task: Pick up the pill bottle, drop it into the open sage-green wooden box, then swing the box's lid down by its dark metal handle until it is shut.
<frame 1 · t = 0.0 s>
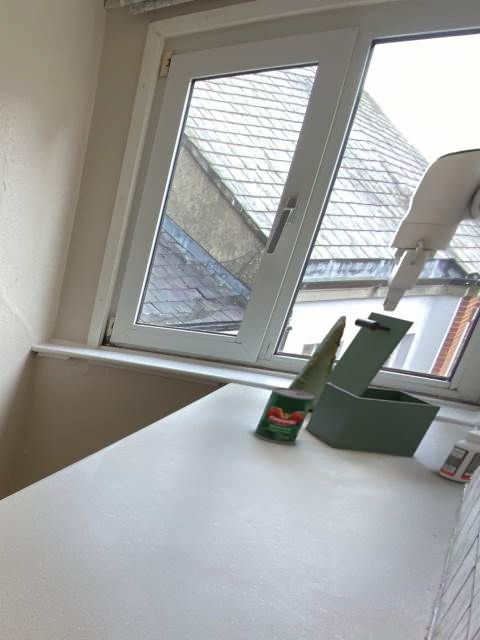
hand: (387, 308, 119), 30 cm above the counter, tool pointing down, fingers open, 8 cm apart
canned tomato: (273, 438, 129), on the counter
lid: (356, 351, 121), point 21 cm above the counter, hinge at 80.0°
pouch: (301, 408, 152), on the counter
pill bottle: (455, 478, 112), on the counter
chest: (355, 442, 129), on the counter
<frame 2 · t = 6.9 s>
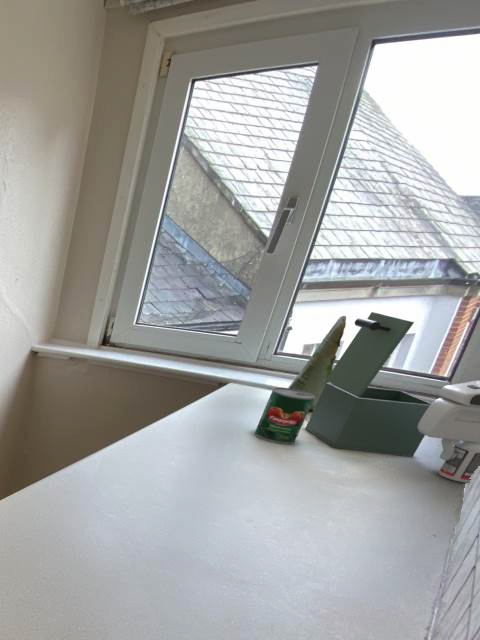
hand: (465, 461, 111), 4 cm above the counter, tool pointing down, fingers closed on pill bottle, 5 cm apart
pill bottle: (455, 478, 112), on the counter, touching gripper
everything else where it was.
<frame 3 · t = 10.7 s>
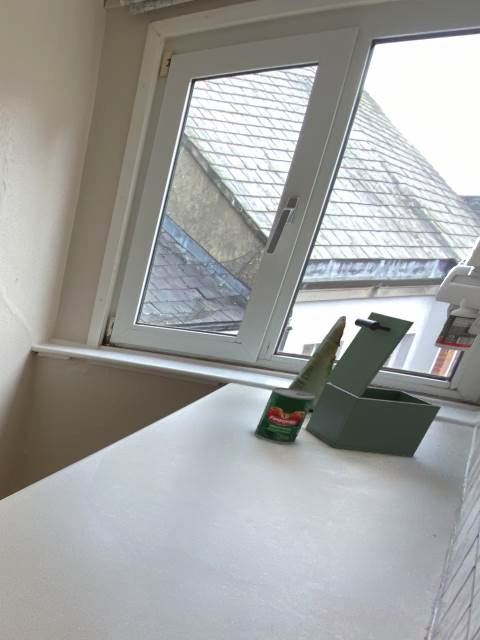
hand: (460, 330, 112), 27 cm above the counter, tool pointing down, fingers closed on pill bottle, 5 cm apart
pill bottle: (450, 349, 114), point 23 cm above the counter, touching gripper
everything else where it was.
when the fingers open (13 cm above the counter, at t = 15.0 s): pill bottle drops 8 cm, resting on chest.
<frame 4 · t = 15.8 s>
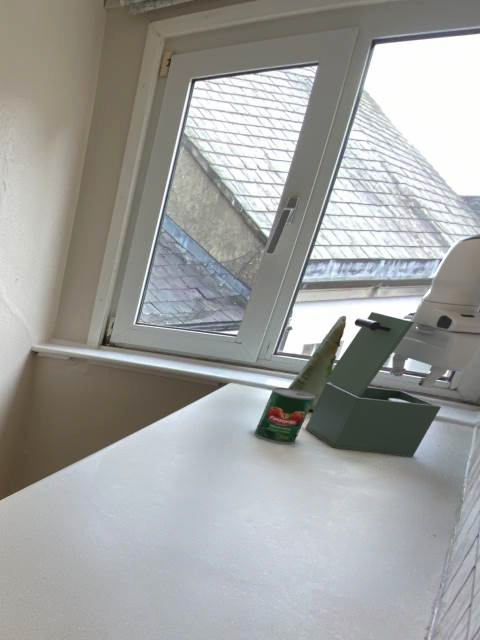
hand: (409, 380, 121), 15 cm above the counter, tool pointing down, fingers open, 8 cm apart
pill bottle: (376, 441, 128), point 1 cm above the counter, touching chest
everything else where it was.
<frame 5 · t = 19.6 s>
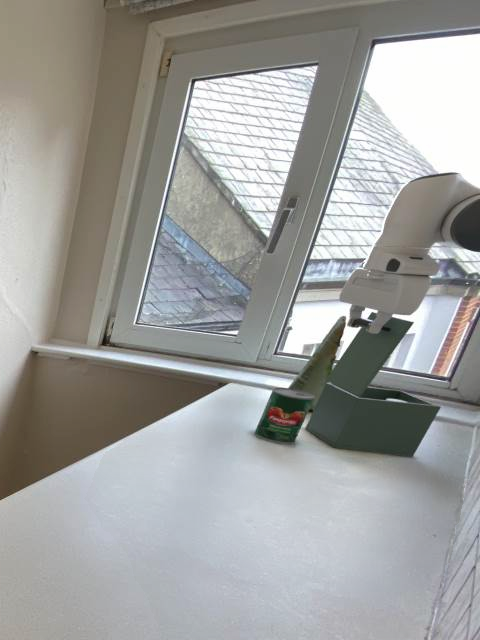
hand: (362, 330, 119), 25 cm above the counter, tool pointing down, fingers closed on lid, 5 cm apart
lid: (356, 351, 121), point 21 cm above the counter, hinge at 80.0°, touching gripper
everything else where it was.
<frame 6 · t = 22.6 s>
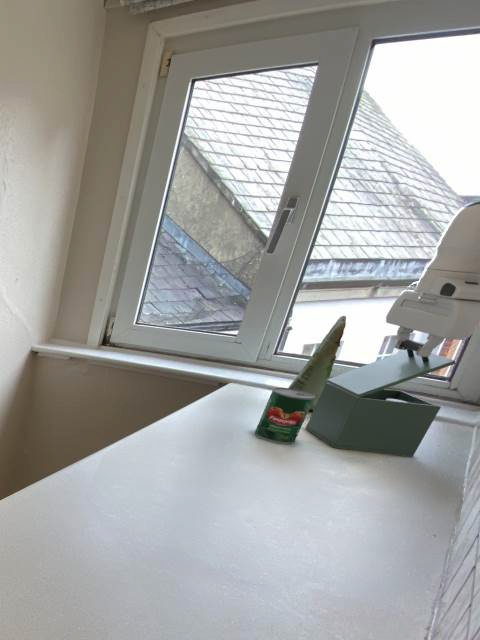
hand: (410, 352, 119), 21 cm above the counter, tool pointing down, fingers closed on lid, 5 cm apart
lid: (384, 364, 121), point 18 cm above the counter, hinge at 33.2°, touching gripper
everything else where it was.
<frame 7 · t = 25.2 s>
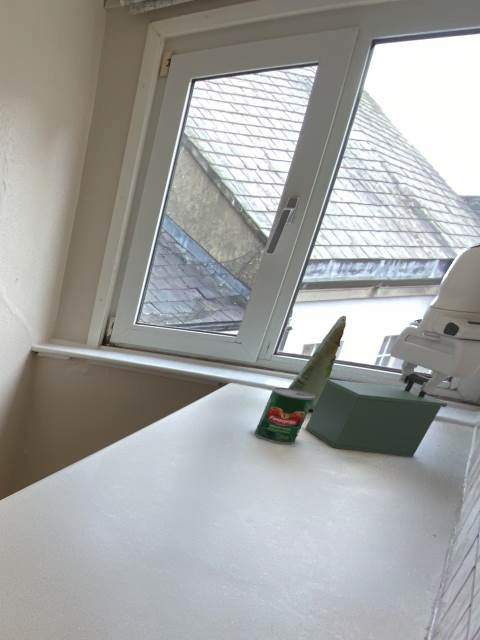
hand: (415, 387, 122), 14 cm above the counter, tool pointing down, fingers closed on lid, 5 cm apart
lid: (387, 383, 122), point 14 cm above the counter, hinge at -0.2°, touching chest, gripper
everything else where it was.
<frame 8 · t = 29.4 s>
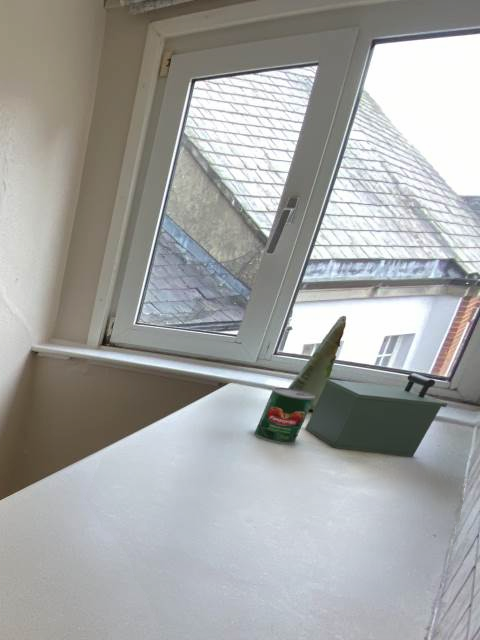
lid: (387, 383, 122), point 14 cm above the counter, hinge at -0.2°, touching chest
everything else where it was.
at the end: pill bottle inside the target area in the chest (4.0 cm from its centre), point 0.6 cm above the chest's base; lid at +0° (first picture: +80°) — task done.
